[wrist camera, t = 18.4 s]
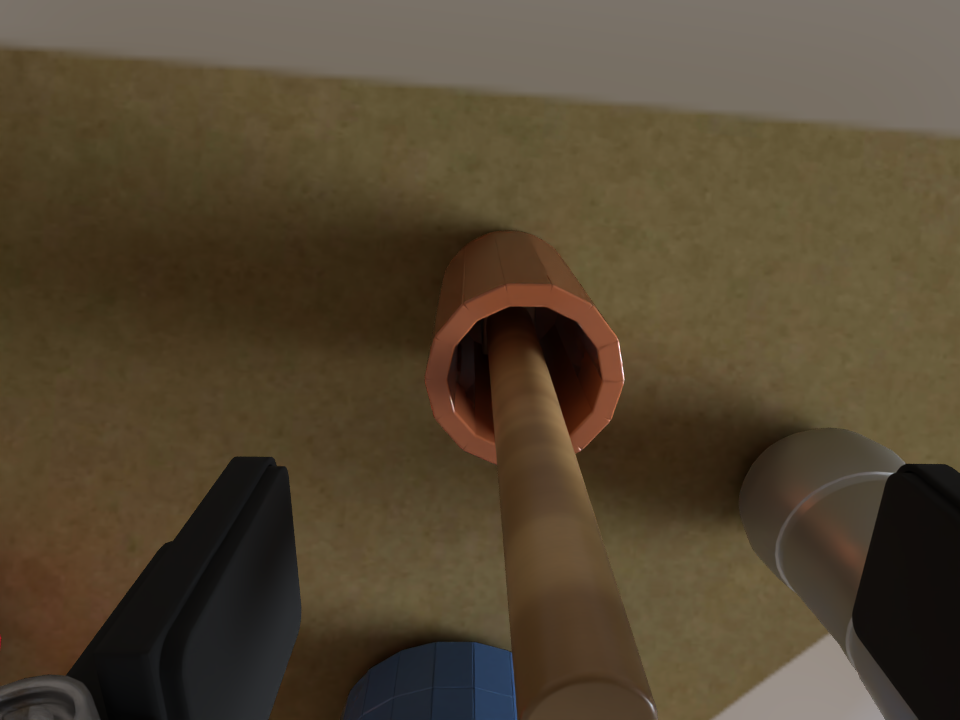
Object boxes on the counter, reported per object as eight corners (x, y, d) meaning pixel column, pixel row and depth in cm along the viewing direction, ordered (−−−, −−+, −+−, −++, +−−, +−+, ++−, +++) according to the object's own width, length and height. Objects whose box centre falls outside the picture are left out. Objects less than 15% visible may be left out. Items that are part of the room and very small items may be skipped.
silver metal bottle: (888, 512, 29) (1630, 1200, 11) (740, 559, 30) (1188, 1281, 11) (862, 388, 27) (1725, 967, 9) (704, 442, 28) (1179, 1084, 9)
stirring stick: (481, 274, 25) (512, 655, 7) (529, 275, 25) (680, 655, 7) (481, 330, 26) (507, 802, 8) (527, 330, 26) (658, 802, 8)
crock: (438, 229, 25) (422, 282, 16) (578, 230, 25) (634, 285, 17) (439, 358, 27) (425, 467, 18) (570, 359, 27) (616, 468, 18)
